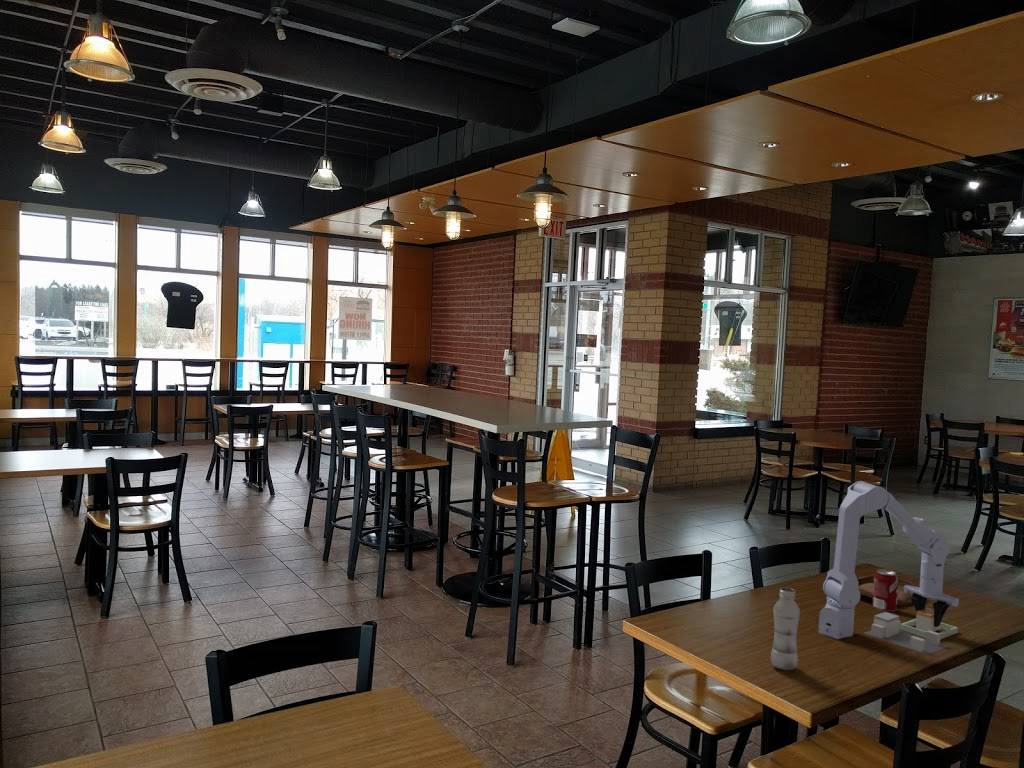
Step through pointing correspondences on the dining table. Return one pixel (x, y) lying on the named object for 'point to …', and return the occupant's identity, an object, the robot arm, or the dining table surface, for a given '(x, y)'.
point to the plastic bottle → (785, 631)
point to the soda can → (885, 590)
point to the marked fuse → (926, 620)
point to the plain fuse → (888, 623)
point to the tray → (908, 627)
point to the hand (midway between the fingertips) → (928, 623)
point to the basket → (868, 587)
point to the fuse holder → (910, 639)
